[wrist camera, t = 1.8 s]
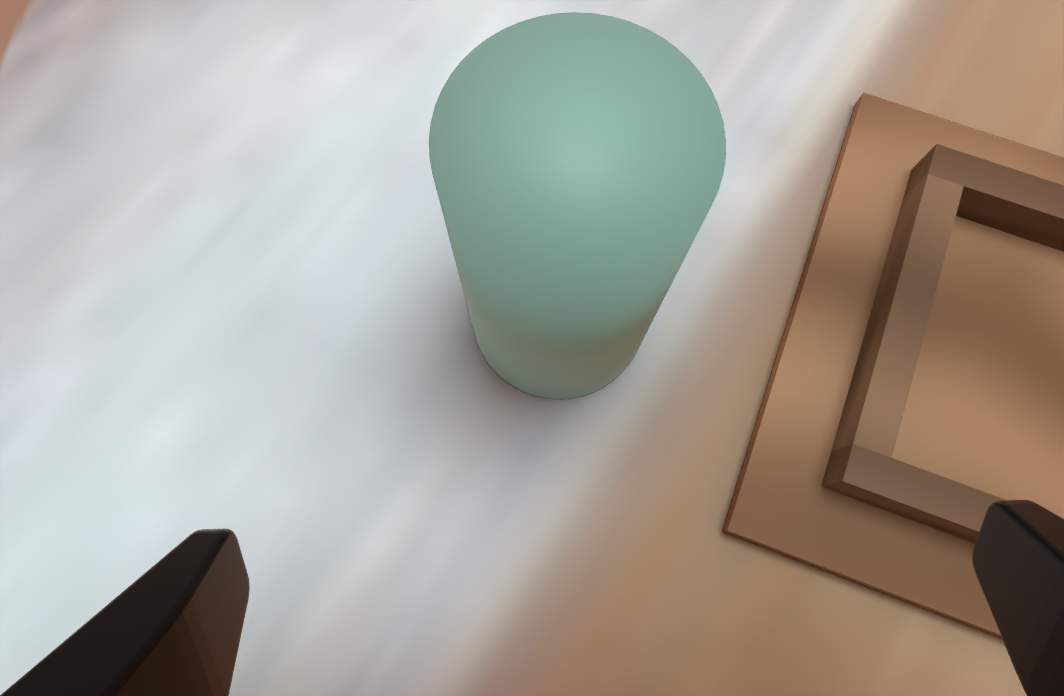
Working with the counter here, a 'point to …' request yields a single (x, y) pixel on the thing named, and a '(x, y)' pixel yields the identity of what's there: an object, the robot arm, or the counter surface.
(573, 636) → the counter surface
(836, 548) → the cradle board
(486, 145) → the green dome-top cylinder
